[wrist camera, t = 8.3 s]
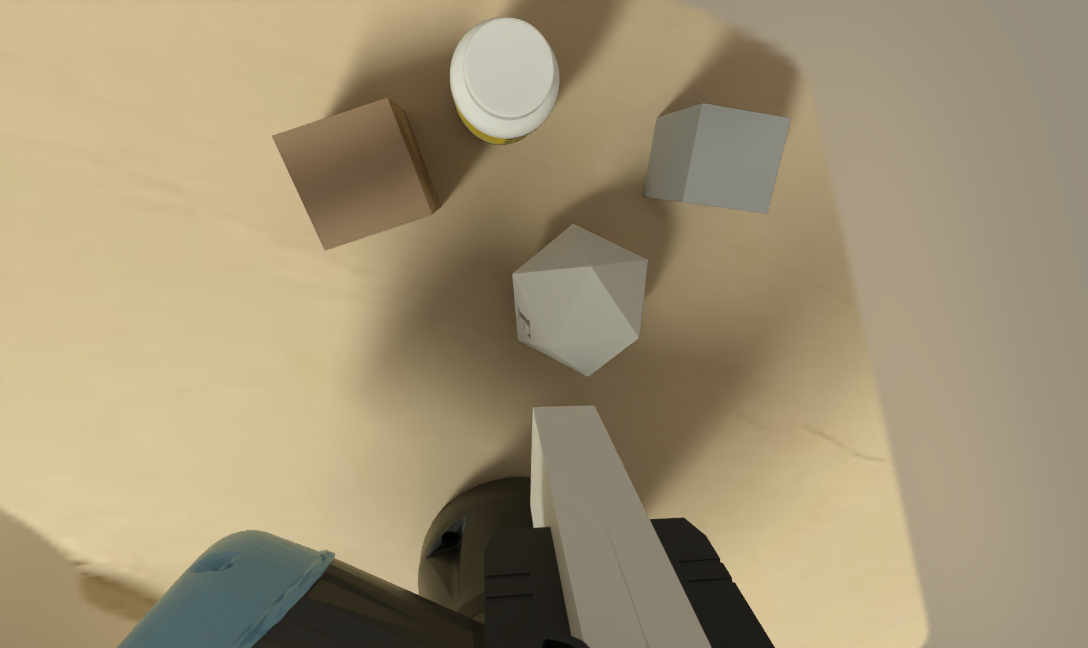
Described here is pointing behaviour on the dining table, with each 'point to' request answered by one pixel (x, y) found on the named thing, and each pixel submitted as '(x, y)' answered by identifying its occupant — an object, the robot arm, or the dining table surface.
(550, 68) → the supplement bottle
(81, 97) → the dining table surface
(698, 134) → the grey block
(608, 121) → the dining table surface
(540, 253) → the die
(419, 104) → the dining table surface
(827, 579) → the dining table surface
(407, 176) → the walnut block
